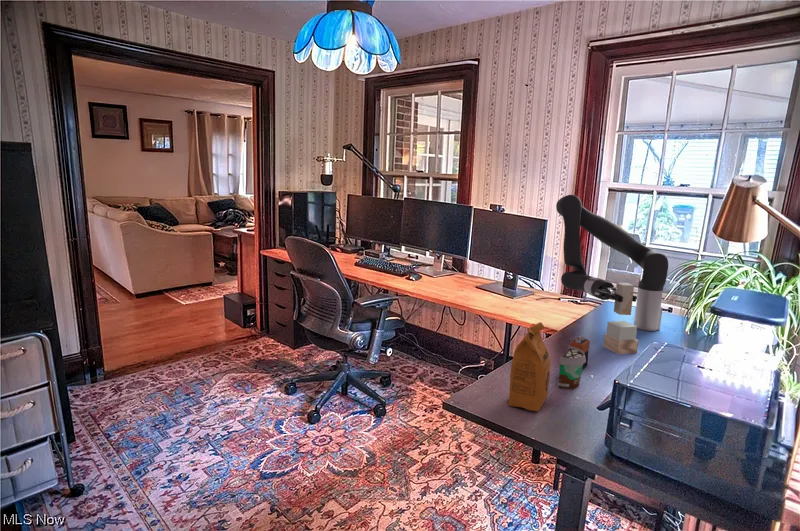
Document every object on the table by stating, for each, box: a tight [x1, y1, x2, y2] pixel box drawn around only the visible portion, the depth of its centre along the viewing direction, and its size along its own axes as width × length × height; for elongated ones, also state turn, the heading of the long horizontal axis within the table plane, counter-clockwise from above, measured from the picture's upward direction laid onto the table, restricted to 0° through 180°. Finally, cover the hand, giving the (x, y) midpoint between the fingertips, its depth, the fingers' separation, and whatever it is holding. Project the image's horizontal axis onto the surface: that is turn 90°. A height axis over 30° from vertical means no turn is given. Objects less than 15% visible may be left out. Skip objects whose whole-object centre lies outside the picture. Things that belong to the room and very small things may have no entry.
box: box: [613, 282, 635, 316], centre depth 165 cm, size 5×4×11 cm
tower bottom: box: [603, 333, 639, 355], centre depth 168 cm, size 8×8×5 cm
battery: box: [569, 335, 590, 370], centre depth 150 cm, size 4×7×10 cm, turn 138°
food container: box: [557, 345, 586, 390], centre depth 136 cm, size 12×6×10 cm, turn 148°
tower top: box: [605, 320, 638, 341], centre depth 167 cm, size 7×7×5 cm
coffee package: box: [507, 322, 552, 412], centre depth 123 cm, size 10×12×22 cm
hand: (628, 299), depth 163 cm, fingers closed on box, 5 cm apart
